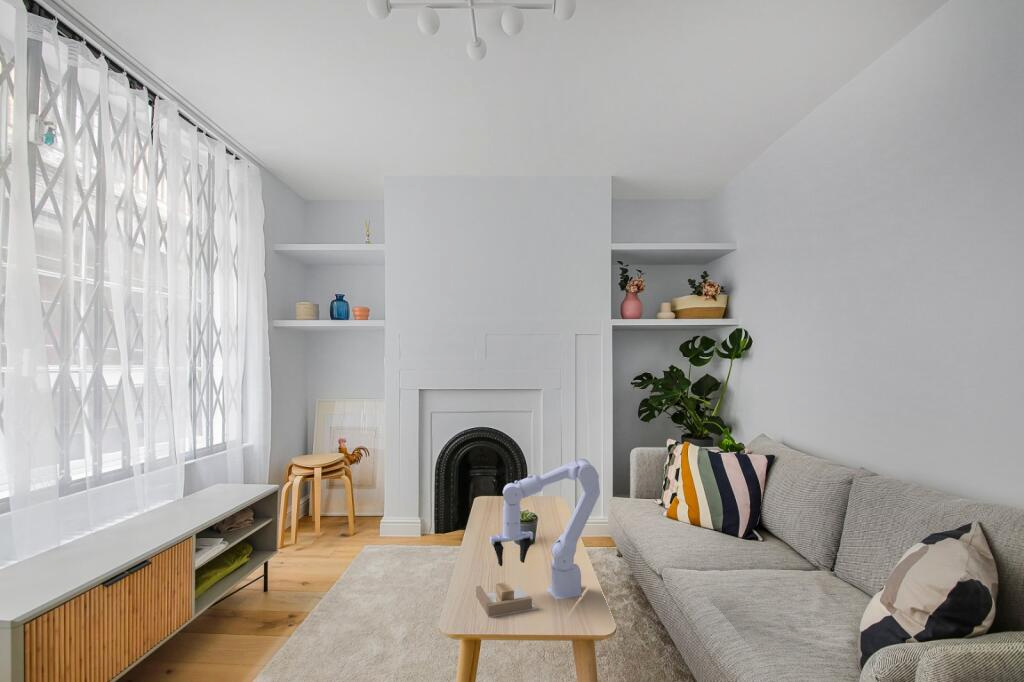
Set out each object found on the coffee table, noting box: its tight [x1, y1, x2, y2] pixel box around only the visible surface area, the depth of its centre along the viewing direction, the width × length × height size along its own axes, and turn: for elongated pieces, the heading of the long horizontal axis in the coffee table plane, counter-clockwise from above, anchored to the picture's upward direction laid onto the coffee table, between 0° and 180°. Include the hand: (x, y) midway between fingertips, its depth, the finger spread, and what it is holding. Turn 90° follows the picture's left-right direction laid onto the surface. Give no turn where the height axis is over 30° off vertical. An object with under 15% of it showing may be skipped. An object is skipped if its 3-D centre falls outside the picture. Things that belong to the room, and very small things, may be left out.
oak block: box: [495, 581, 514, 602], centre depth 154 cm, size 4×6×5 cm, turn 20°
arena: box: [475, 585, 538, 619], centre depth 155 cm, size 16×14×4 cm
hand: (511, 563), depth 162 cm, fingers open, 7 cm apart
